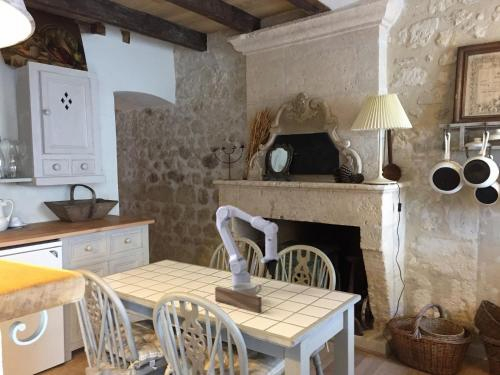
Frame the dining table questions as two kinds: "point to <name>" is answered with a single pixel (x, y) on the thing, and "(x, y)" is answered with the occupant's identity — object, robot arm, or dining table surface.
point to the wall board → (238, 299)
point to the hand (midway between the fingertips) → (271, 274)
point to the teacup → (247, 288)
